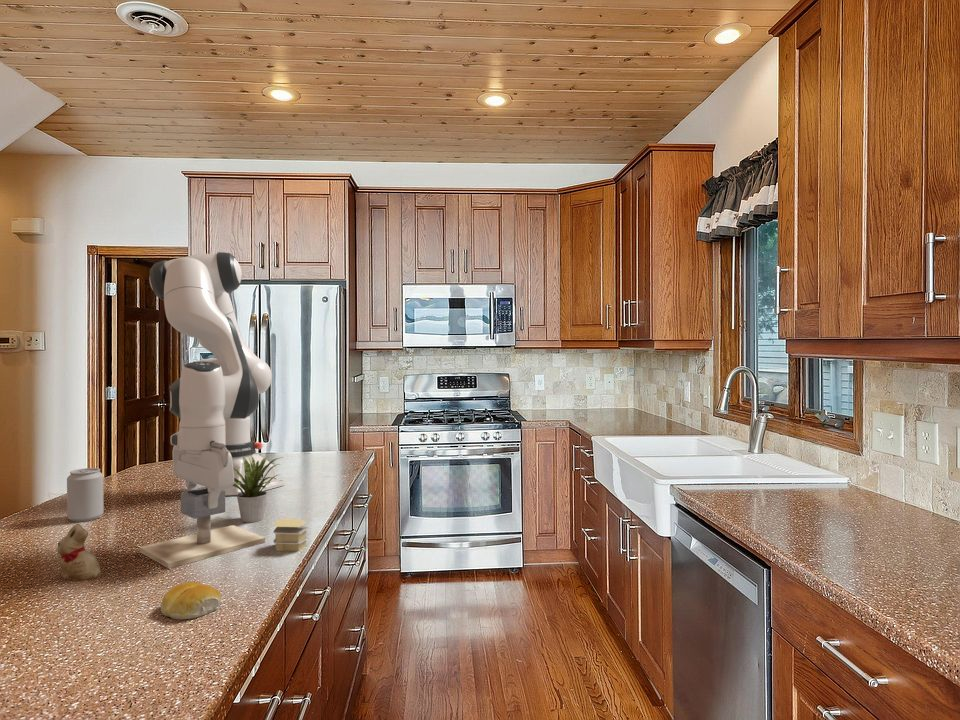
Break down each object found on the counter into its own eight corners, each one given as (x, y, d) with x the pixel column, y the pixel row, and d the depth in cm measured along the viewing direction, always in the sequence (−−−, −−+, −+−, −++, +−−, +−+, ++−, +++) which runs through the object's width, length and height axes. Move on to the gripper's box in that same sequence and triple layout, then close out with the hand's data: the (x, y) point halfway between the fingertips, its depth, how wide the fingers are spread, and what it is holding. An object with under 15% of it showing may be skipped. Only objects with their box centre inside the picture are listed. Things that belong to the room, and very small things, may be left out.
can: (85, 523, 141) (85, 473, 141) (59, 521, 142) (58, 472, 142) (111, 514, 148) (110, 467, 148) (85, 513, 150) (85, 466, 150)
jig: (232, 529, 137) (232, 495, 137) (265, 542, 128) (264, 505, 128) (139, 552, 122) (139, 513, 121) (168, 568, 113) (168, 527, 112)
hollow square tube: (210, 506, 129) (210, 486, 129) (225, 512, 125) (225, 491, 125) (180, 512, 124) (180, 492, 124) (194, 518, 120) (194, 497, 120)
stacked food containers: (321, 543, 129) (321, 518, 128) (301, 557, 120) (301, 530, 120) (278, 540, 130) (278, 515, 130) (256, 554, 122) (256, 527, 121)
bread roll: (197, 594, 102) (197, 571, 102) (229, 606, 97) (229, 582, 97) (148, 612, 95) (148, 587, 95) (180, 626, 90) (180, 600, 90)
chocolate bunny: (89, 566, 114) (89, 514, 114) (104, 576, 109) (104, 522, 109) (55, 574, 110) (54, 521, 109) (69, 585, 105) (68, 529, 104)
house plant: (300, 515, 148) (300, 450, 148) (258, 531, 136) (258, 460, 135) (257, 508, 154) (257, 446, 154) (213, 523, 142) (213, 455, 141)
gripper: (242, 442, 120) (242, 510, 120) (196, 432, 133) (196, 493, 133) (211, 446, 115) (211, 516, 115) (166, 435, 128) (167, 499, 129)
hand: (203, 504), depth 125 cm, fingers closed on hollow square tube, 6 cm apart
